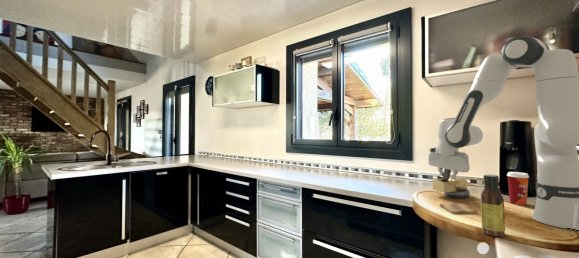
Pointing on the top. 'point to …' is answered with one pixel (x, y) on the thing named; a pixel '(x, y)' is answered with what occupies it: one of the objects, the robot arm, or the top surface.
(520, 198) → the paper cup
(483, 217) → the sauce bottle
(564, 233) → the top surface
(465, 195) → the chuck base
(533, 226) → the top surface
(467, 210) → the wooden mat
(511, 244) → the top surface
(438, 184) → the chuck collar
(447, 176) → the steel cylinder
